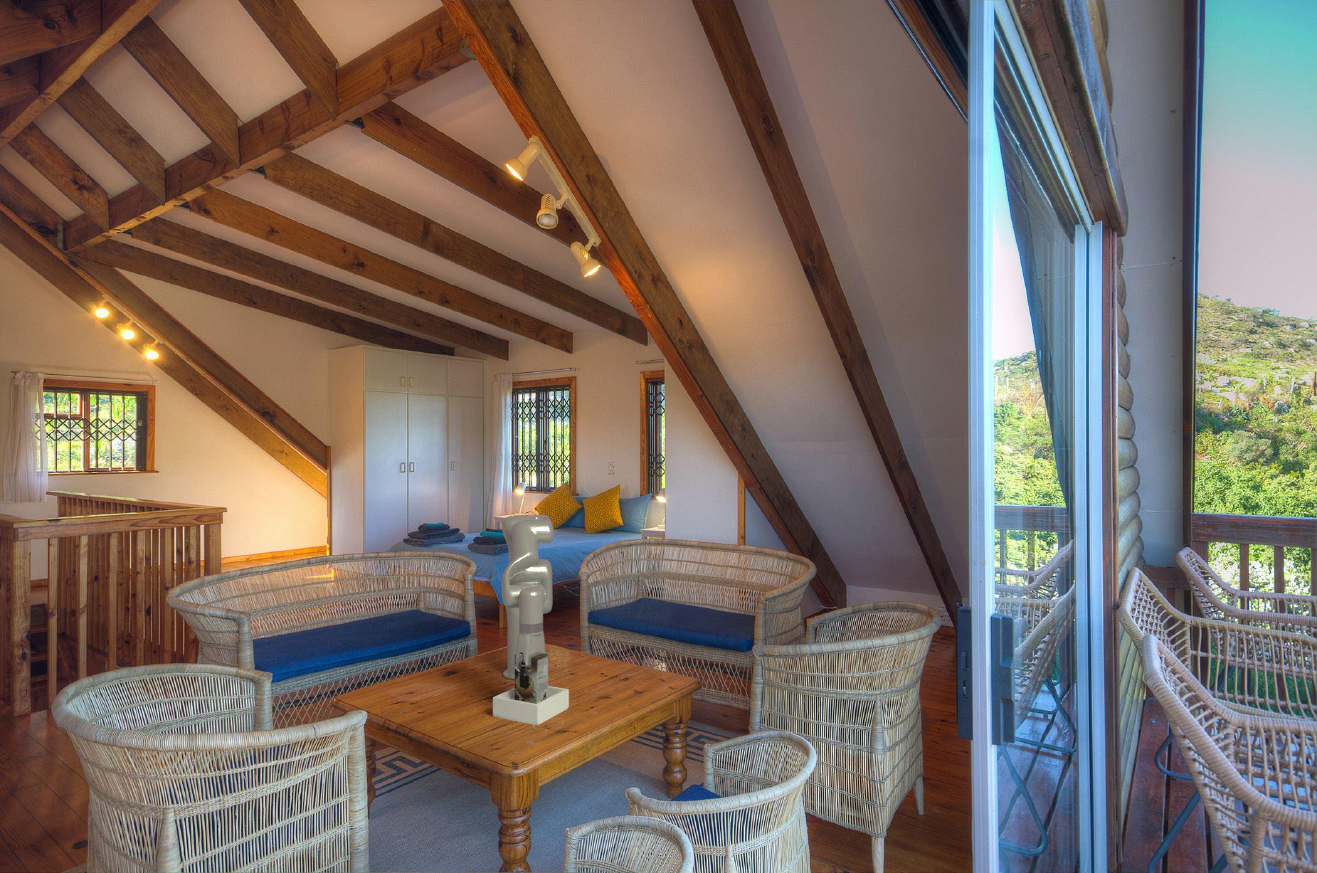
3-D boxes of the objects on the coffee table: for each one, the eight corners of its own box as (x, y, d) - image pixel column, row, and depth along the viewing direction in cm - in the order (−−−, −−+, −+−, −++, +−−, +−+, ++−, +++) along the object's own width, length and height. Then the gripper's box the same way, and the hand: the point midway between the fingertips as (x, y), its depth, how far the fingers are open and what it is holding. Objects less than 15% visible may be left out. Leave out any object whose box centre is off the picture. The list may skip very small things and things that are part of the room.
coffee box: (513, 705, 234) (513, 654, 234) (526, 699, 240) (526, 649, 240) (536, 710, 230) (536, 658, 230) (549, 703, 235) (548, 653, 236)
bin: (526, 700, 246) (526, 682, 246) (568, 707, 238) (568, 689, 238) (492, 716, 231) (492, 697, 231) (537, 725, 223) (537, 705, 223)
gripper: (537, 620, 244) (537, 675, 244) (504, 632, 229) (504, 690, 229) (556, 623, 241) (556, 678, 241) (524, 635, 226) (524, 694, 225)
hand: (531, 683), depth 235 cm, fingers closed on coffee box, 6 cm apart
